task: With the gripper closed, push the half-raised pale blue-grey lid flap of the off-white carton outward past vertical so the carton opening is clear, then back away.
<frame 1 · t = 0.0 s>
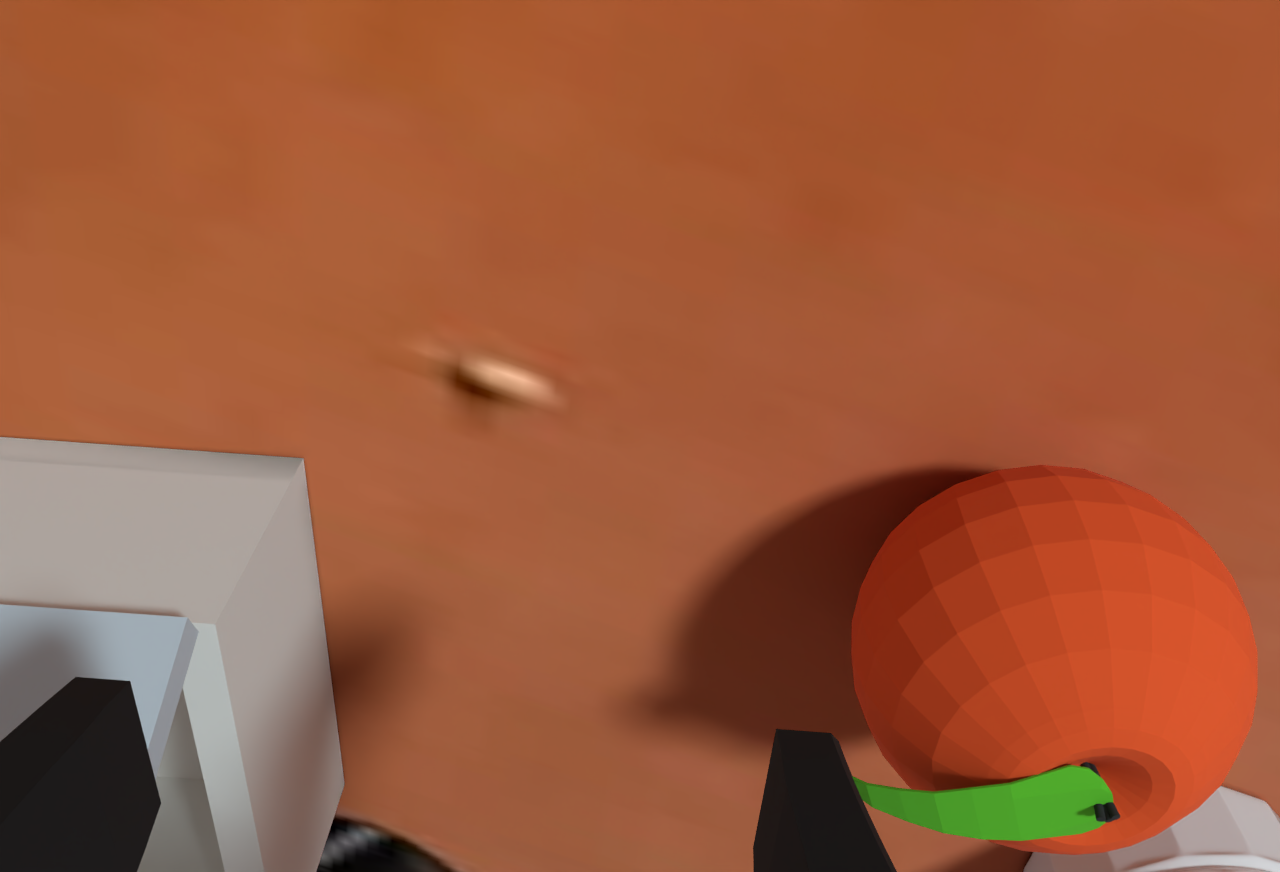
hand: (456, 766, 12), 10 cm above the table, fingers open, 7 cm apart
carton: (65, 620, 25), on the table
clementine: (969, 537, 23), on the table
white cup: (1150, 857, 29), on the table
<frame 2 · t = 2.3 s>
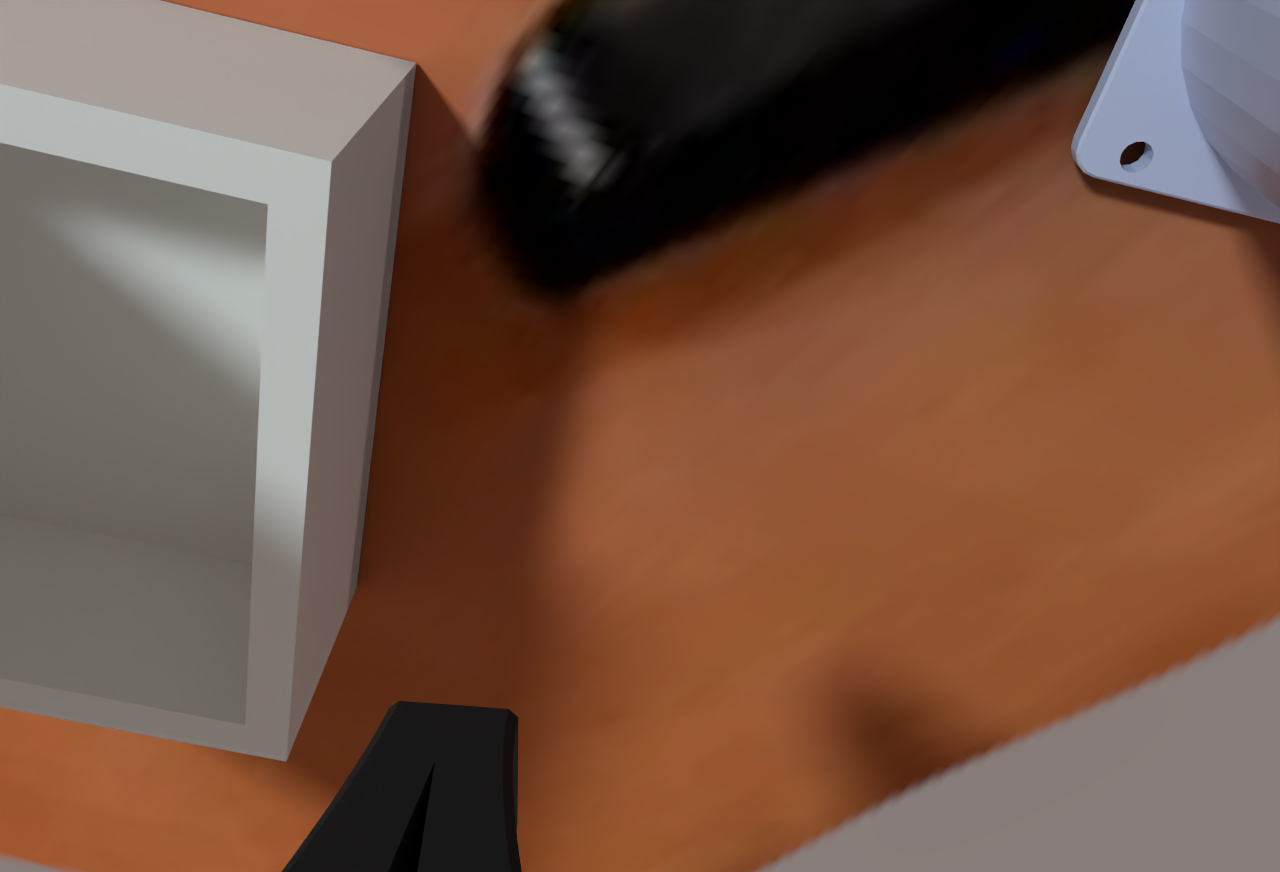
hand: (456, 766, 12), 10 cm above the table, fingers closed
carton: (126, 308, 21), on the table
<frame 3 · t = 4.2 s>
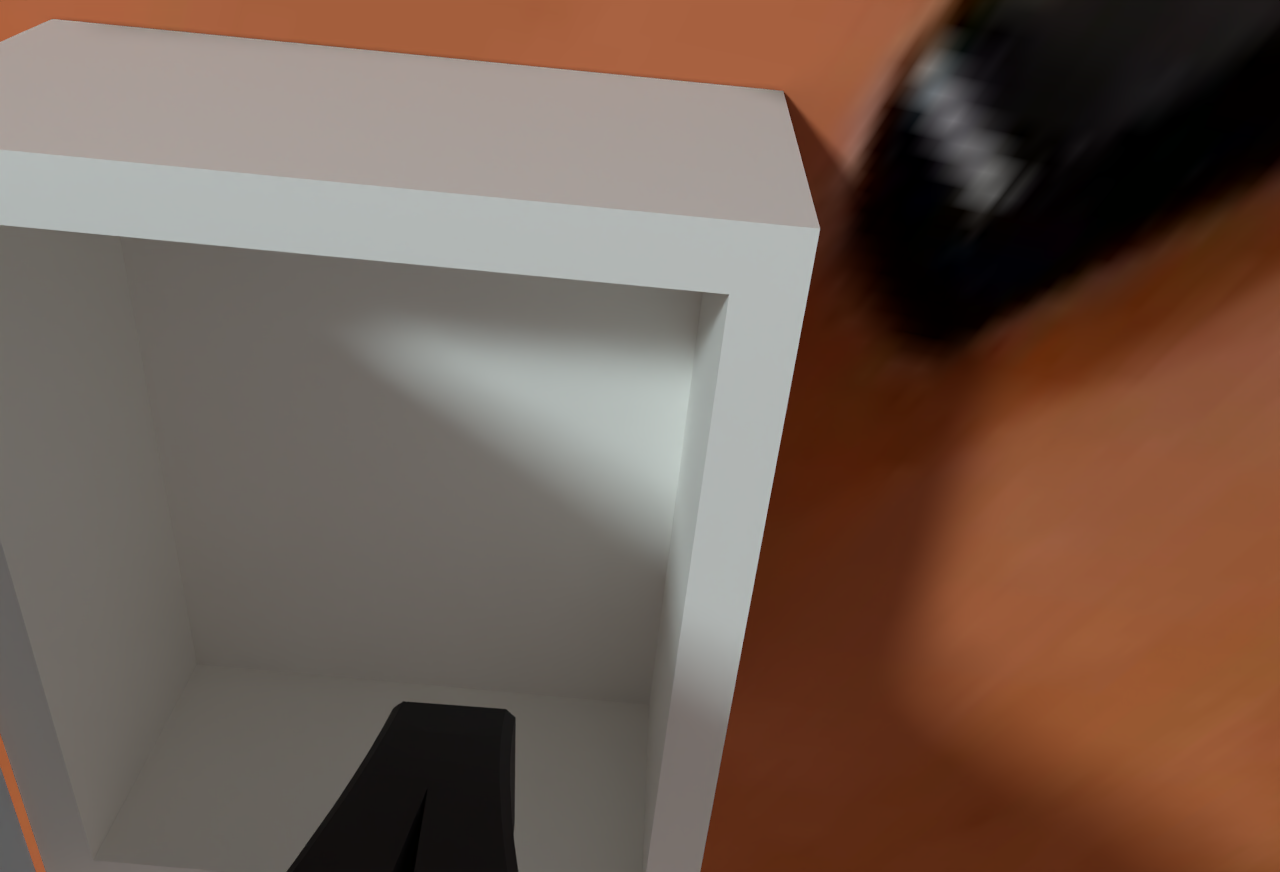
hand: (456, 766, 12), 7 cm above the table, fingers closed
carton: (427, 425, 18), on the table
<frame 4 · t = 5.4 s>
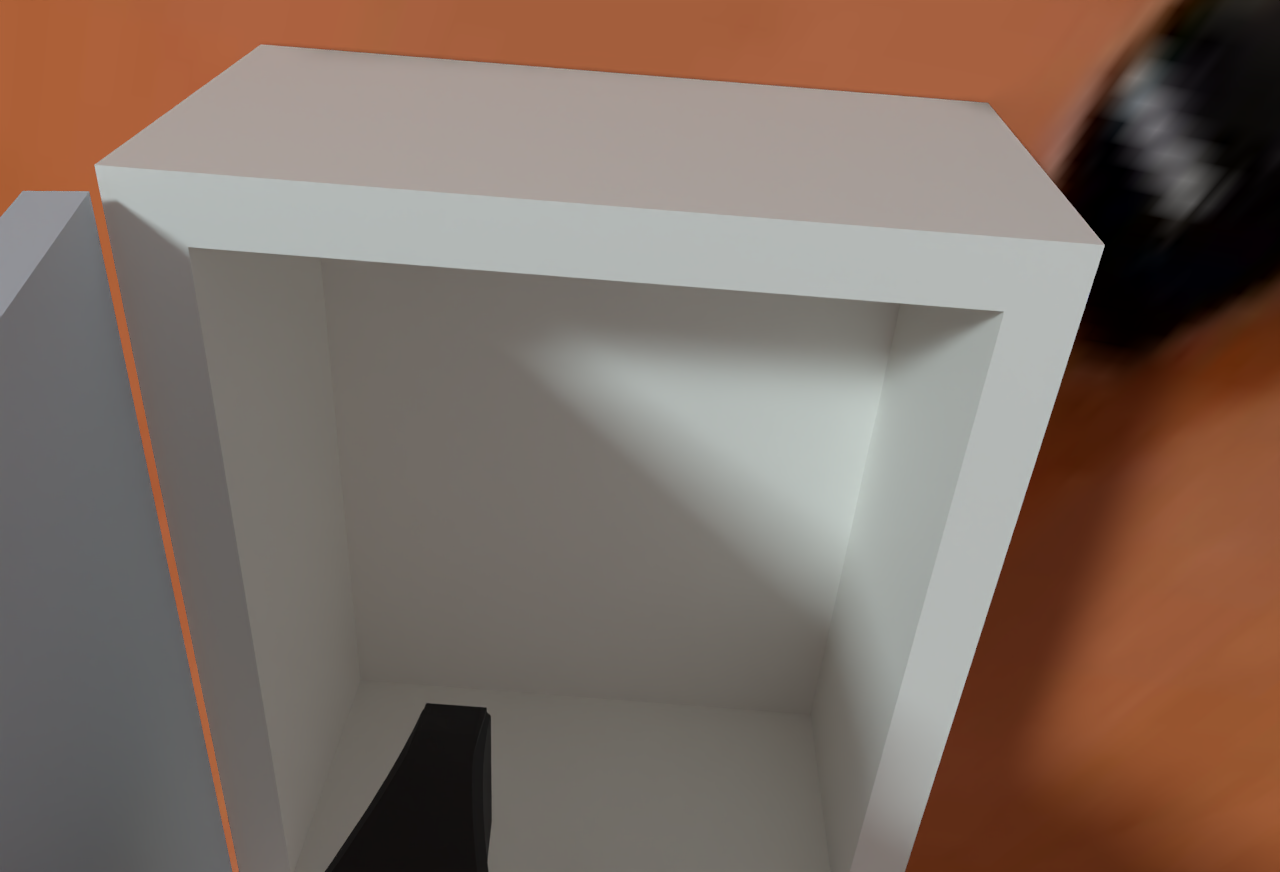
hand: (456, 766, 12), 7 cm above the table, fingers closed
carton: (602, 440, 18), on the table
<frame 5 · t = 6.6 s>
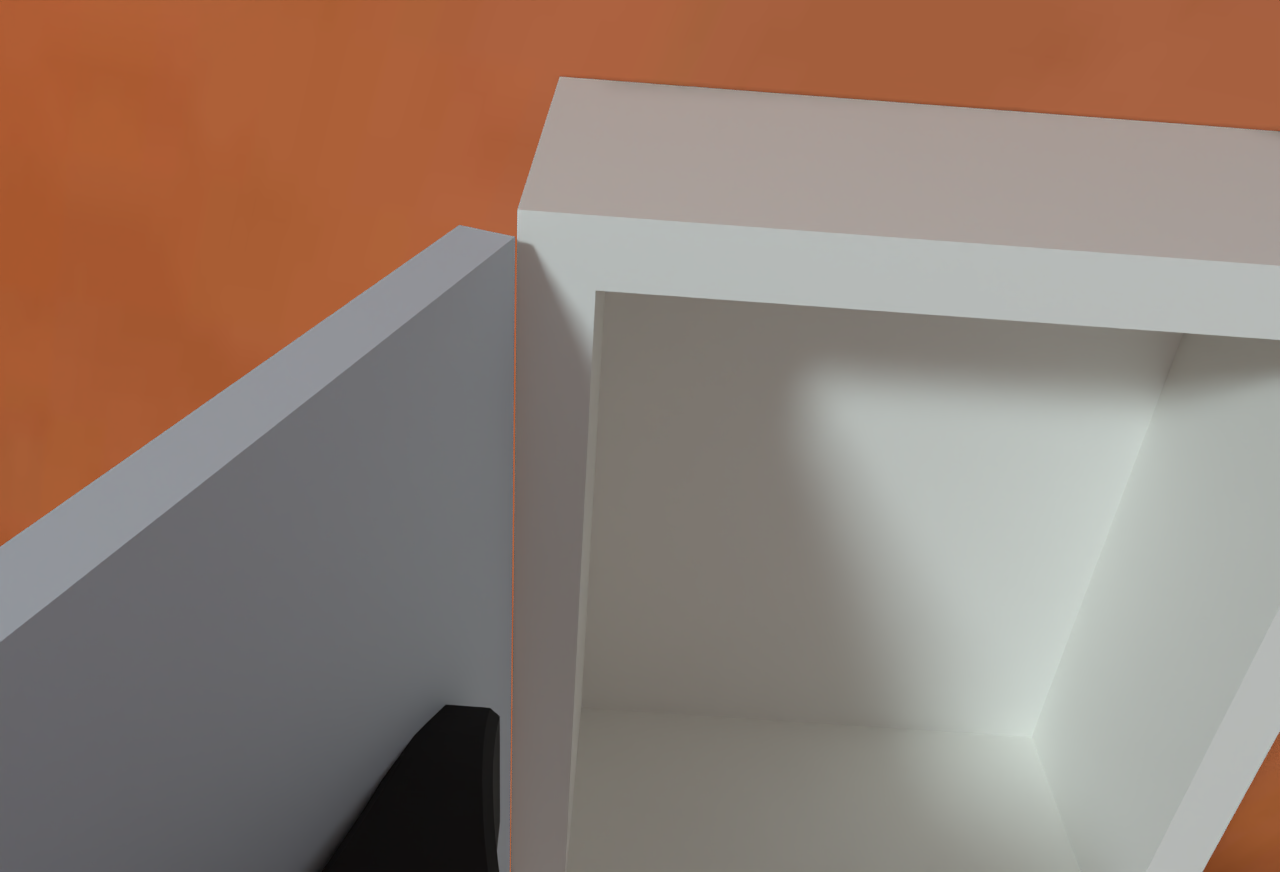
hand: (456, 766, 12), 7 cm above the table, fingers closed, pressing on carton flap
carton: (849, 466, 18), on the table
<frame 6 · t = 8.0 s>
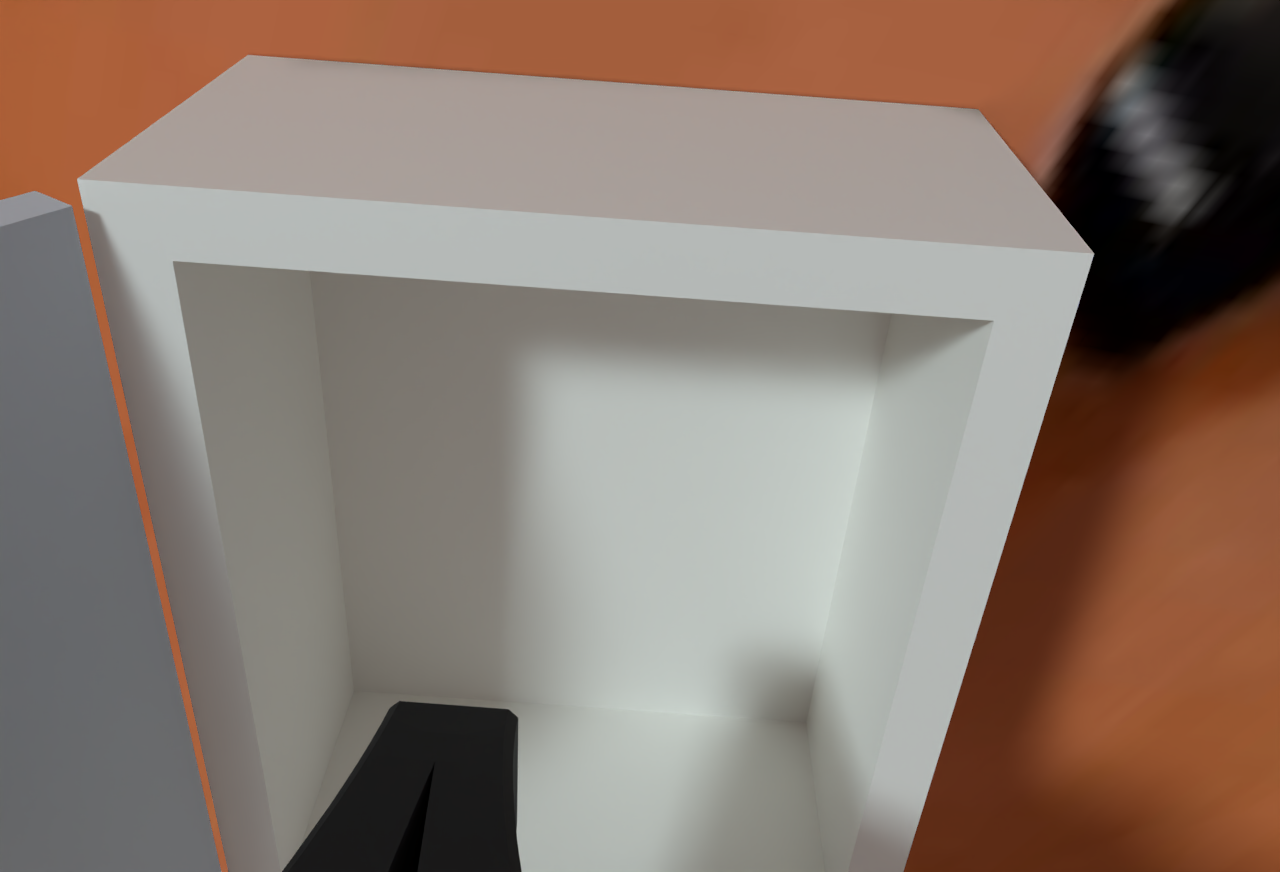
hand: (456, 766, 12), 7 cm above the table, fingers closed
carton: (595, 448, 18), on the table
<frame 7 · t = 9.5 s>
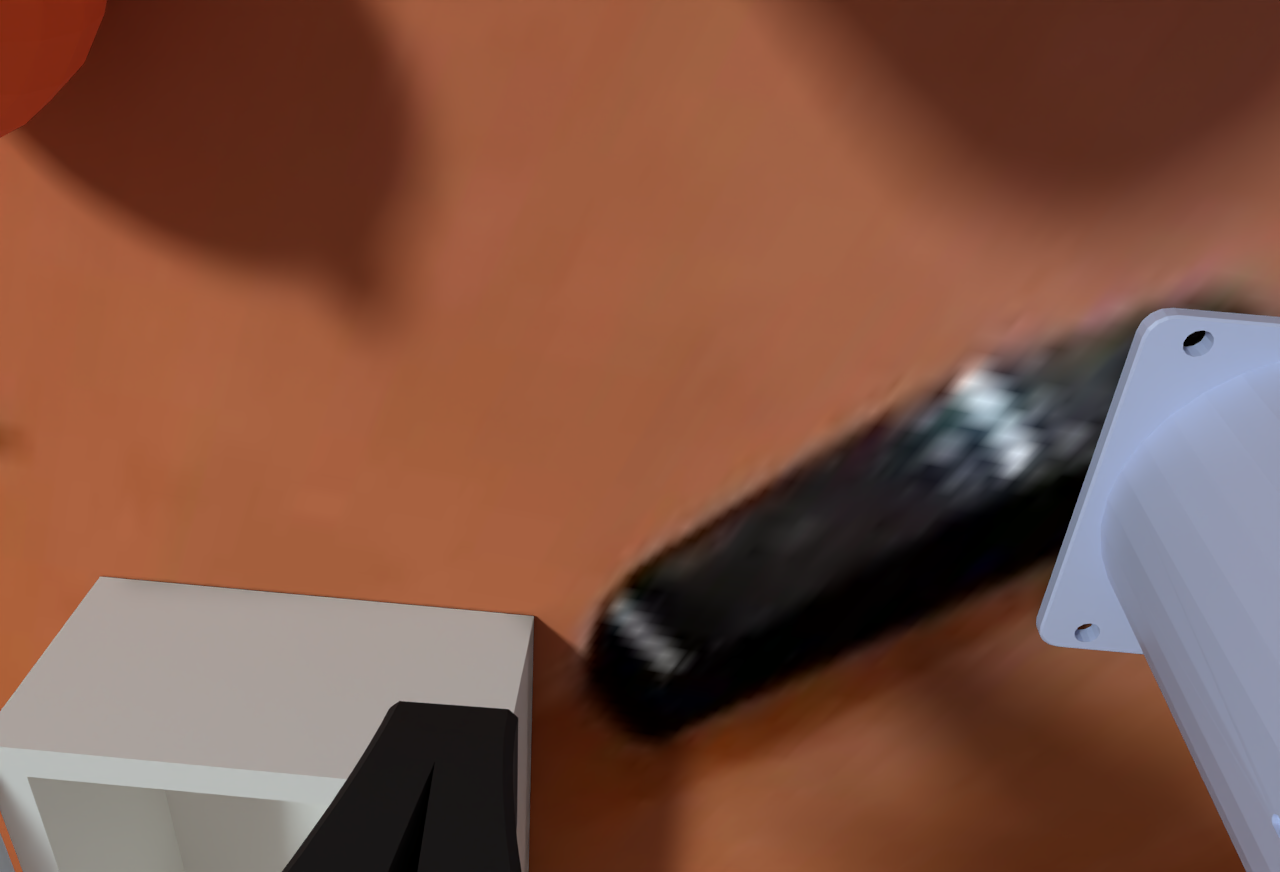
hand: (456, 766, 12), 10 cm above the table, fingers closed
carton: (337, 773, 28), on the table
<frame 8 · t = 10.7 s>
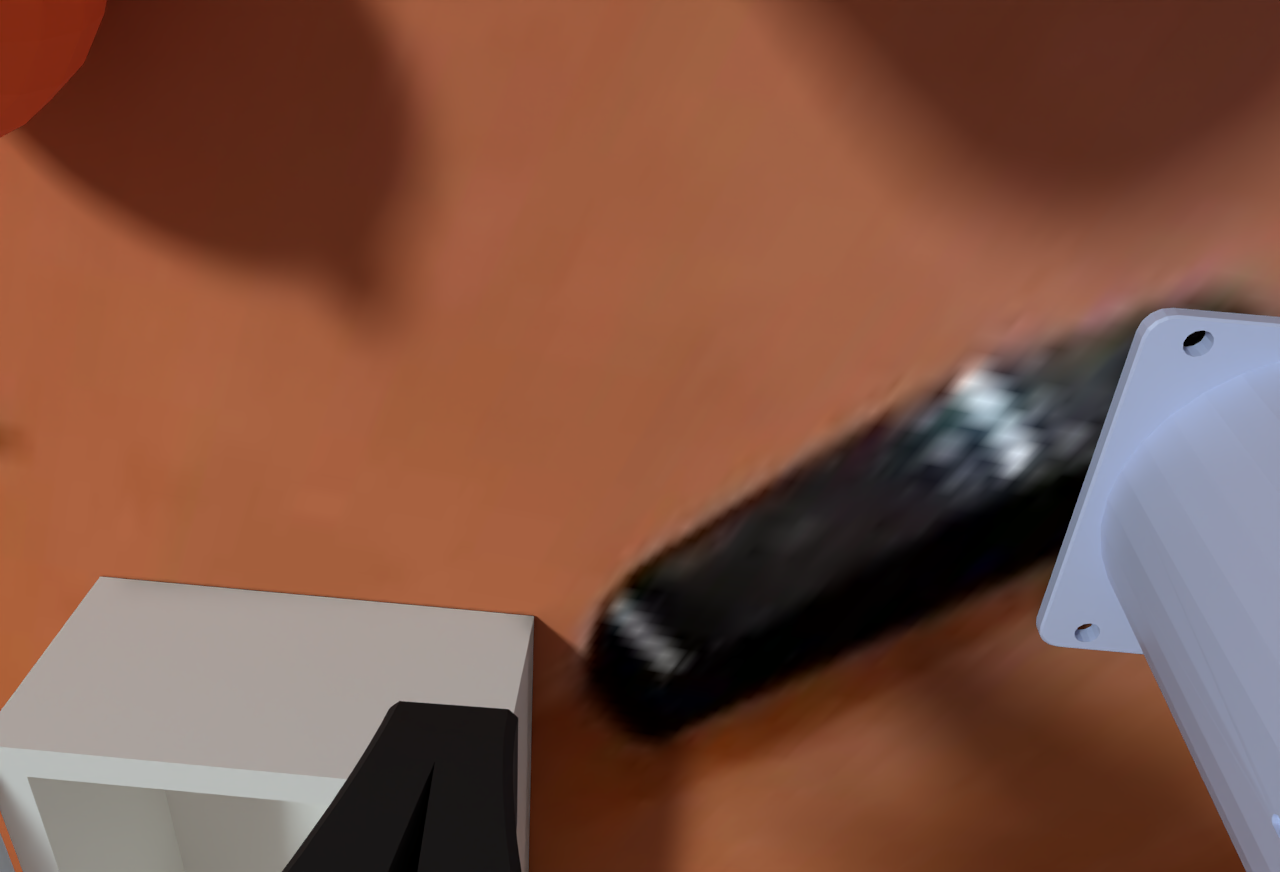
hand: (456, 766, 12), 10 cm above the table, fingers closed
carton: (337, 773, 28), on the table
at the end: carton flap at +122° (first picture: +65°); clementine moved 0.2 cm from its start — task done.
